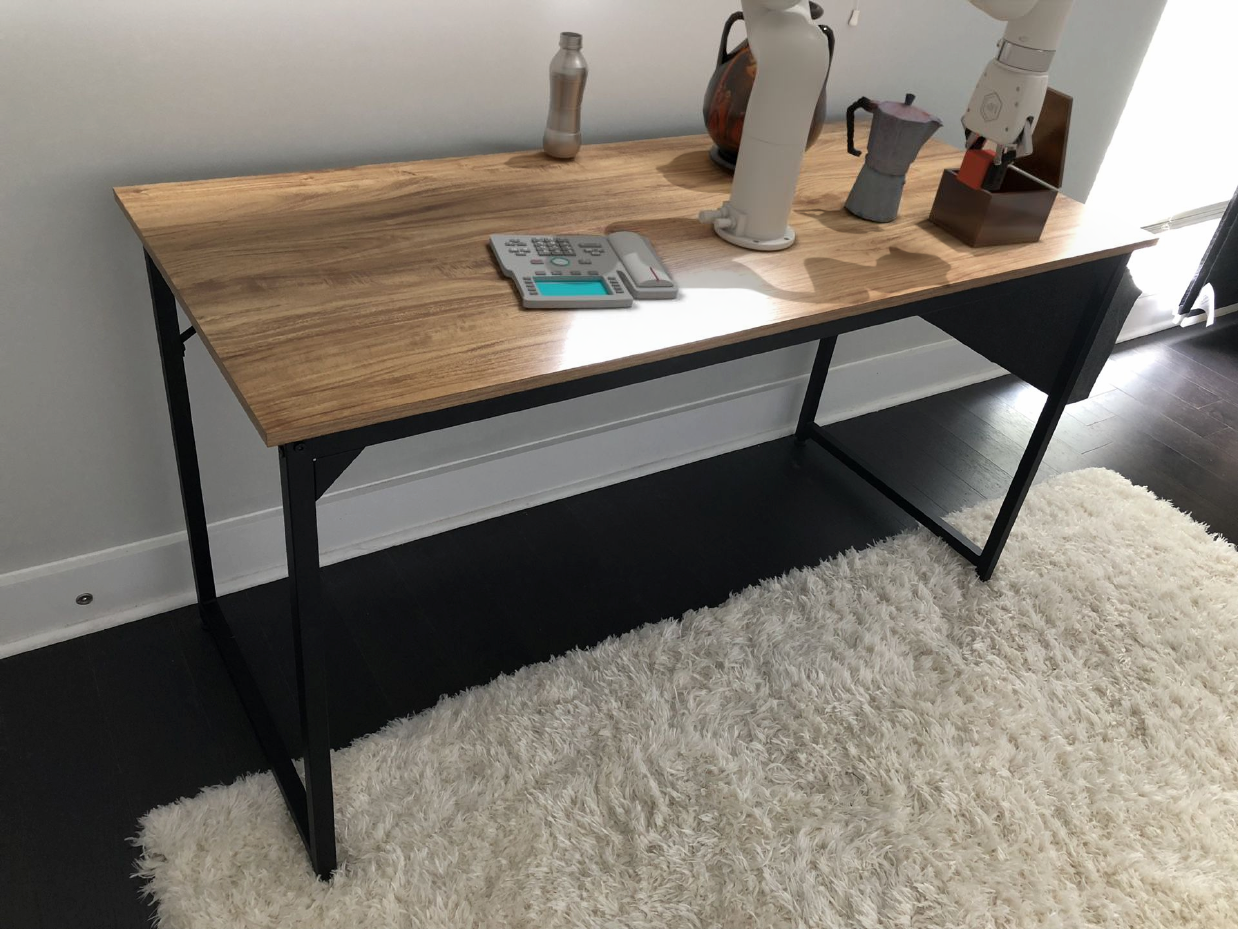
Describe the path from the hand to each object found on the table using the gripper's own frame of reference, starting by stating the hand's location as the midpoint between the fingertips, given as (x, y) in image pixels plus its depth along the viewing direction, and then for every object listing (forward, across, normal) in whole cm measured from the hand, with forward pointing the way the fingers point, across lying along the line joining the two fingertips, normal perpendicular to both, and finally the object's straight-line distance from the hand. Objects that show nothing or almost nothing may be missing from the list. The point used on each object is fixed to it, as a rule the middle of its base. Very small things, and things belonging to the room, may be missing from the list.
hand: (978, 181), depth 148 cm
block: (0, 0, 0) cm, 0 cm away
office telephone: (+14, -4, -62) cm, 63 cm away
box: (+12, -8, +13) cm, 19 cm away
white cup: (+12, -22, +28) cm, 38 cm away
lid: (-5, -8, +17) cm, 19 cm away
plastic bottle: (+14, -48, -48) cm, 69 cm away
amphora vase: (+13, -39, -14) cm, 44 cm away
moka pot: (+12, -17, -4) cm, 22 cm away
